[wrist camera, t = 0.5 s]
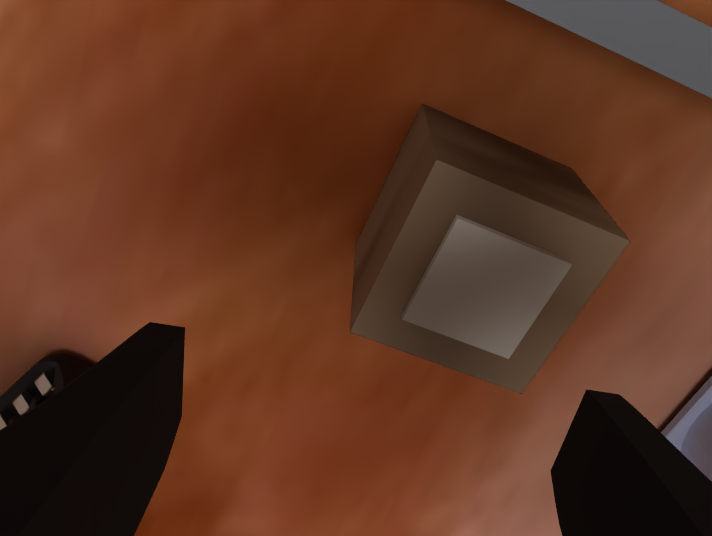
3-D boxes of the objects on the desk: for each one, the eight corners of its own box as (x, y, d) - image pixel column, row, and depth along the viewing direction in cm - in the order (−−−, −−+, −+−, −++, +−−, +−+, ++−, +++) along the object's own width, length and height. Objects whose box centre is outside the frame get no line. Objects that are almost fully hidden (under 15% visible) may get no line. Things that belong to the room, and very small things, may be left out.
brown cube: (571, 167, 19) (633, 244, 14) (491, 297, 21) (523, 398, 17) (421, 102, 18) (437, 162, 13) (355, 244, 20) (349, 336, 16)
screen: (829, 99, 18) (943, 143, 14) (799, 137, 18) (901, 188, 15) (298, -163, 15) (274, -191, 11) (281, -110, 15) (253, -120, 12)
